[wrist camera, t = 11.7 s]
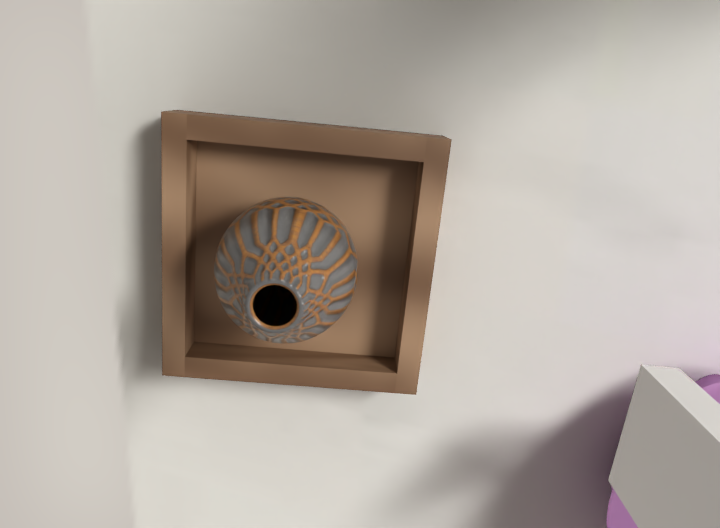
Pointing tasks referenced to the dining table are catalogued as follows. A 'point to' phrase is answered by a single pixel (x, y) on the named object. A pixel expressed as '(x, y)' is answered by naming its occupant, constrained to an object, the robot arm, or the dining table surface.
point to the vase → (286, 270)
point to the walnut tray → (331, 190)
